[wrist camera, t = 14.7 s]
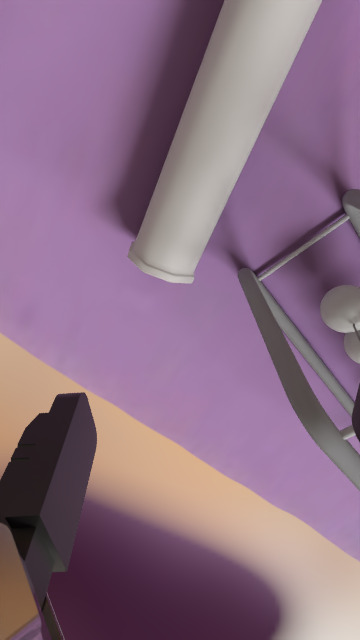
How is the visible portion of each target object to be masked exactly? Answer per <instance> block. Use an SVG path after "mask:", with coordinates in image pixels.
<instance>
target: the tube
mask: <svg viewBox="0 0 360 640" xmlns="http://www.w3.org/2000/svg"><path fill="white" fill-rule="evenodd" d="M321 2H322V0H224V3H223V6H222V8H221V11H220V14H219V16H218V19H217V22H216V25H215V27H214V30H213V33H212V35H211V38H210V41H209V44H208V46H207V49H206V52H205V54H204V57H203V60H202V62H201V65H200V68H199V71H198V73H197V76H196V79H195V81H194V84H193V87H192V90H191V92H190V95H189V98H188V100H187V103H186V106H185V109H184V111H183V114H182V117H181V119H180V122H179V125H178V128H177V130H176V133H175V136H174V138H173V141H172V144H171V146H170V149H169V152H168V155H167V157H166V160H165V163H164V165H163V168H162V171H161V174H160V176H159V179H158V182H157V184H156V187H155V190H154V193H153V195H152V198H151V201H150V203H149V206H148V209H147V211H146V214H145V217H144V220H143V222H142V225H141V228H140V230H139V233H138V236H137V238H136V240H135V241H134V242H132V243H131V246H130V249H129V253H128V258H129V259H130V260H131V261H132V262H133V263H134V264H135V265H136V266H137V267H138V268H139V269H140V270H141V271H142V272H144V273H146V274H149V275H152V276H154V277H157V278H160V279H163V280H165V281H168V282H171V283H192V282H193V280H194V278H195V277H194V270H195V268H196V266H197V264H198V262H199V260H200V258H201V255H202V253H203V251H204V249H205V247H206V245H207V243H208V241H209V239H210V236H211V234H212V232H213V230H214V228H215V226H216V224H217V222H218V220H219V217H220V215H221V213H222V211H223V209H224V207H225V205H226V203H227V201H228V198H229V196H230V194H231V192H232V190H233V188H234V186H235V184H236V182H237V179H238V177H239V175H240V173H241V171H242V169H243V167H244V165H245V163H246V160H247V158H248V156H249V154H250V152H251V150H252V148H253V146H254V144H255V141H256V139H257V137H258V135H259V133H260V131H261V129H262V127H263V125H264V122H265V120H266V118H267V116H268V114H269V112H270V110H271V108H272V106H273V103H274V101H275V99H276V97H277V95H278V93H279V91H280V89H281V87H282V84H283V82H284V80H285V78H286V76H287V74H288V72H289V70H290V68H291V65H292V63H293V61H294V59H295V57H296V55H297V53H298V51H299V49H300V46H301V44H302V42H303V40H304V38H305V36H306V34H307V32H308V30H309V27H310V25H311V23H312V21H313V19H314V17H315V15H316V13H317V11H318V8H319V6H320V4H321Z"/></svg>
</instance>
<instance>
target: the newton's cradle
mask: <svg viewBox="0 0 360 640" xmlns="http://www.w3.org/2000/svg"><path fill="white" fill-rule="evenodd" d="M342 204H343V207H344V210H345V212H346V215H345V216H344V217H342V218H341V219H339V220H338V221H336V222H335V223H334V224H332V225H331V226H329V227H328V228H327V229H325V230H324V231H322V232H321V233H319V234H318V235H317V236H315V237H314V238H312V239H311V240H310V241H308V242H307V243H305V244H304V245H303V246H301V247H300V248H298V249H297V250H295V251H294V252H293V253H291V254H290V255H288V256H287V257H286V258H284V259H283V260H281V261H280V262H278V263H277V264H276V265H274V266H273V267H271V268H270V269H269V270H267V271H266V272H264V273H263V274H261V275H260V276H259V277H257V276H256V275H255V274H254V273H253V272H252V271H251V270H250V269H249V268H242V269H240V270H239V272H238V279H239V281H240V284H241V286H242V288H243V291H244V293H245V296H246V298H247V301H248V303H249V305H250V308H251V310H252V313H253V315H254V317H255V320H256V322H257V325H258V327H259V330H260V332H261V334H262V337H263V339H264V342H265V344H266V346H267V349H268V351H269V354H270V356H271V359H272V361H273V363H274V366H275V368H276V371H277V373H278V376H279V378H280V380H281V383H282V385H283V388H284V390H285V392H286V395H287V397H288V399H289V401H290V403H291V405H292V407H293V409H294V411H295V413H296V414H297V416H298V418H299V419H300V421H301V423H302V424H303V426H304V427H305V429H306V430H307V432H308V433H309V435H310V436H311V437H312V439H313V440H314V441H315V443H316V444H317V445H318V446H319V447H320V449H321V450H322V451H323V452H324V453H325V454H326V455H327V456H328V457H329V458H330V459H331V460H332V461H333V463H334V464H335V465H336V466H337V467H338V468H339V469H340V470H341V471H342V472H343V473H344V474H345V475H346V477H347V478H348V479H349V480H350V481H351V482H352V483H353V484H354V485H355V486H356V487H357V488H358V489H359V490H360V455H359V454H358V452H357V451H356V450H355V449H354V448H353V446H352V445H351V444H350V443H349V442H348V441H347V439H348V438H350V437H352V436H354V435H356V434H355V432H354V429H353V425H351V426H349V427H347V428H345V429H343V430H341V431H339V430H338V429H337V427H336V426H335V425H334V423H333V422H332V420H331V419H330V418H329V416H328V415H327V413H326V412H325V410H324V409H323V407H322V406H321V404H320V403H319V401H318V399H317V398H316V396H315V394H314V393H313V391H312V389H311V387H310V385H309V383H308V381H307V379H306V378H305V376H304V374H303V372H302V370H301V368H300V366H299V364H298V362H297V360H296V358H295V356H294V354H293V352H292V350H291V348H290V346H289V344H288V342H287V341H286V339H285V337H284V335H283V333H282V331H281V329H282V330H283V332H284V333H285V334H286V335H287V337H288V338H289V339H290V340H291V342H292V343H293V344H294V345H295V347H296V348H297V349H298V350H299V352H300V353H301V354H302V355H303V357H304V358H305V359H306V360H307V362H308V363H309V364H310V365H311V367H312V368H313V369H314V370H315V372H316V373H317V374H318V375H319V377H320V378H321V379H322V380H323V382H324V383H325V384H326V385H327V387H328V388H329V389H330V390H331V392H332V393H333V394H334V395H335V397H336V398H337V399H338V400H339V402H340V403H341V404H342V405H343V407H344V408H345V409H346V410H347V412H348V413H349V414H350V415H351V417H352V412H353V408H354V404H355V403H354V402H353V401H352V400H351V398H350V397H349V396H348V394H347V393H346V392H345V390H344V389H343V388H342V387H341V385H340V384H339V383H338V381H337V380H336V379H335V377H334V376H333V375H332V374H331V372H330V371H329V370H328V368H327V367H326V366H325V365H324V363H323V362H322V361H321V359H320V358H319V357H318V355H317V354H316V353H315V352H314V350H313V349H312V348H311V346H310V345H309V344H308V342H307V341H306V340H305V339H304V337H303V336H302V335H301V333H300V332H299V331H298V329H297V328H296V327H295V326H294V324H293V323H292V322H291V320H290V319H289V318H288V317H287V315H286V314H285V313H284V311H283V310H282V309H281V307H280V306H279V305H278V304H277V302H276V301H275V300H274V298H273V297H272V296H271V294H270V293H269V292H268V291H267V289H266V288H265V287H264V285H263V284H262V283H261V280H262V279H264V278H265V277H267V276H268V275H270V274H271V273H272V272H274V271H275V270H277V269H278V268H280V267H281V266H282V265H284V264H285V263H287V262H288V261H290V260H291V259H292V258H294V257H295V256H297V255H298V254H299V253H301V252H302V251H304V250H305V249H307V248H308V247H309V246H311V245H312V244H314V243H315V242H317V241H318V240H319V239H321V238H322V237H324V236H325V235H327V234H328V233H329V232H331V231H332V230H334V229H335V228H337V227H338V226H339V225H341V224H342V223H344V222H345V221H347V220H348V219H349V220H350V221H351V223H352V225H353V227H354V229H355V230H356V232H357V234H358V236H359V237H360V190H358V189H351V190H349V191H347V192H346V193H345V194H344V196H343V198H342ZM320 314H321V317H322V319H323V321H324V322H325V324H326V325H327V326H328V327H330V328H331V329H333V330H335V331H338V332H343V333H346V334H345V336H344V341H343V344H344V349H345V351H346V353H347V355H348V356H349V357H350V358H351V359H352V360H353V361H355V362H357V363H359V364H360V287H357V286H354V285H340V286H337V287H334V288H333V289H331V290H330V291H328V292H327V293H326V294H325V296H324V297H323V299H322V301H321V305H320ZM280 328H281V329H280Z"/></svg>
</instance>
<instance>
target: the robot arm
mask: <svg viewBox="0 0 360 640" xmlns="http://www.w3.org/2000/svg"><path fill="white" fill-rule="evenodd" d="M352 425H353V429H354V432H355V434H356V436H357V438H358V440H359V442H360V385H359V388H358V392H357V396H356V400H355V404H354V408H353V412H352ZM96 444H97V433H96V427H95V423H94V420H93V416H92V413H91V409H90V406H89V402H88V398H87V396H86V394H85V393H68V394H58V395H57V396H56V398H55V400H54V402H53V404H52V407H51V409H50V412H49V413H39V415H38V416H37V417H36V418H35V419H34V420H33V421H32V422H31V423H30V424H29V425H28V426H27V427H26V428H25V430H24V432H23V434H22V437H21V439H20V441H19V443H18V447H17V448H16V449H15V451H14V453H13V455H12V457H11V462H9V463H8V466H7V468H6V470H5V472H4V474H3V476H2V478H1V480H0V640H64V637H63V635H62V632H61V629H60V627H59V624H58V621H57V618H56V616H55V613H54V610H53V608H52V605H51V602H50V600H49V597H48V594H47V588H48V585H49V581H50V577H51V574H52V572H61V571H67V569H68V565H69V561H70V556H71V552H72V548H73V544H74V539H75V535H76V531H77V527H78V523H79V518H80V514H81V510H82V506H83V502H84V497H85V493H86V489H87V485H88V480H89V476H90V472H91V468H92V464H93V459H94V455H95V451H96Z"/></svg>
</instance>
